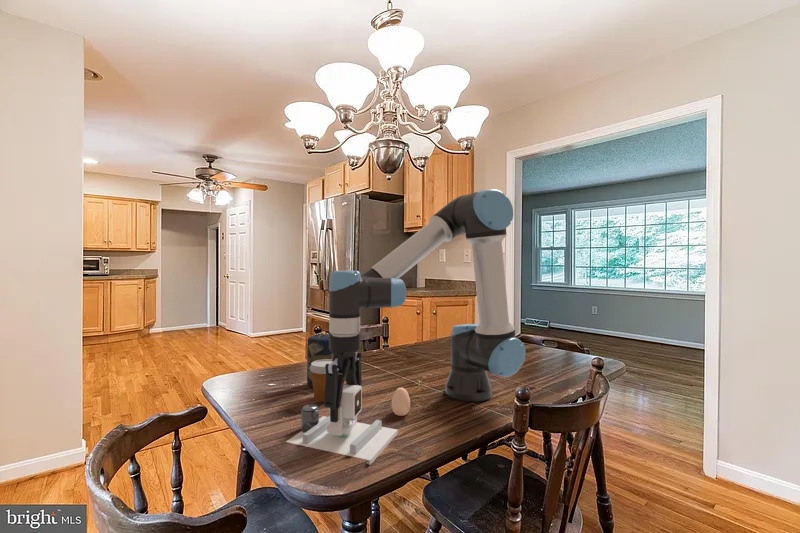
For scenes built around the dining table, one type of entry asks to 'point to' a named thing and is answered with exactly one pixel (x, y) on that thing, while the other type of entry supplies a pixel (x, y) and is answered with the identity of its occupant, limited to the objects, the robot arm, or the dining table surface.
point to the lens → (309, 417)
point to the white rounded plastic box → (349, 406)
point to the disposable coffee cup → (319, 378)
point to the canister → (317, 352)
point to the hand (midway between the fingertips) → (344, 427)
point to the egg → (400, 402)
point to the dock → (348, 439)
